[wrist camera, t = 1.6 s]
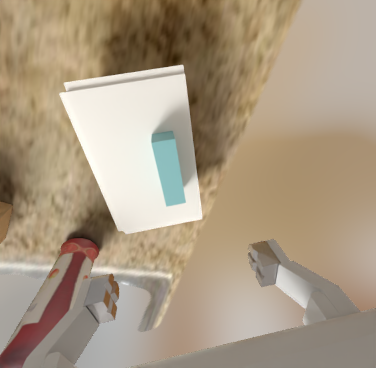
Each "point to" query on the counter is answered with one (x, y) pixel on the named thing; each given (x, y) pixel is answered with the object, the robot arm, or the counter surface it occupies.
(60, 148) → the counter surface
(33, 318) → the liquor
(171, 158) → the lid
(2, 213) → the sandwich container
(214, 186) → the counter surface
